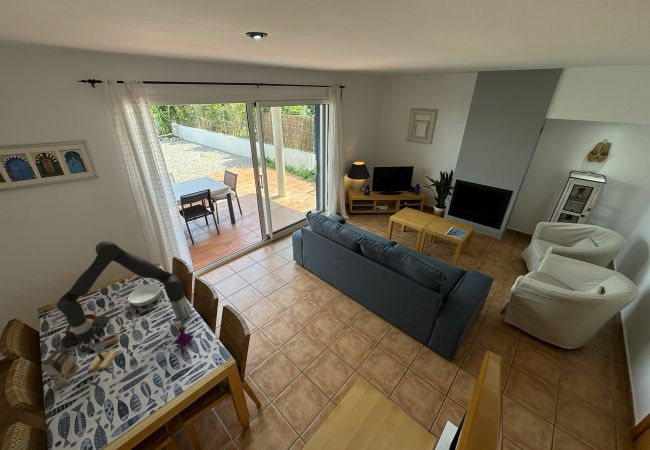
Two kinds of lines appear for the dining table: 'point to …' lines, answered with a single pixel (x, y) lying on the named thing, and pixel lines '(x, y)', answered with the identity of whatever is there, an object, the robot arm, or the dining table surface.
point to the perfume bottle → (183, 335)
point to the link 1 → (97, 350)
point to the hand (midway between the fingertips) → (95, 348)
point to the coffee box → (60, 366)
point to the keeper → (103, 360)
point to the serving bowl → (144, 295)
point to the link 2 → (111, 339)
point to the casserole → (71, 337)
